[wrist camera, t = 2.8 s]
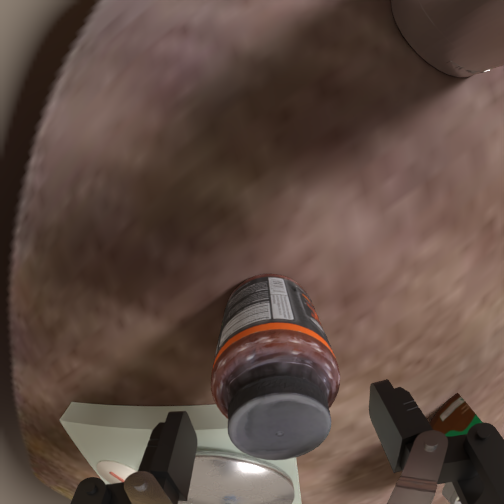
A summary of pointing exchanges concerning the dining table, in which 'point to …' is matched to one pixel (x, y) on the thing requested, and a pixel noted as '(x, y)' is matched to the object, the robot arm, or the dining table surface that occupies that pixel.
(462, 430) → the food container
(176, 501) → the robot arm
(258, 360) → the supplement bottle
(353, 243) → the dining table surface
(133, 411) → the scale base
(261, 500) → the scale pan
